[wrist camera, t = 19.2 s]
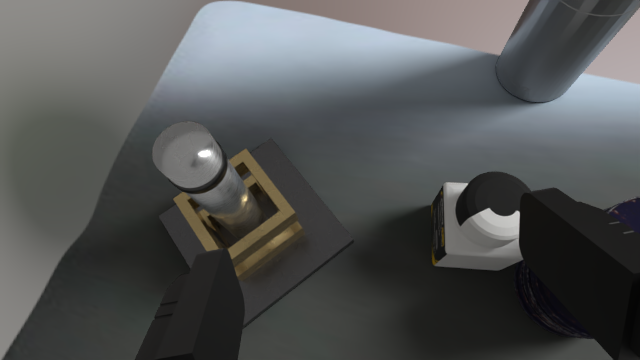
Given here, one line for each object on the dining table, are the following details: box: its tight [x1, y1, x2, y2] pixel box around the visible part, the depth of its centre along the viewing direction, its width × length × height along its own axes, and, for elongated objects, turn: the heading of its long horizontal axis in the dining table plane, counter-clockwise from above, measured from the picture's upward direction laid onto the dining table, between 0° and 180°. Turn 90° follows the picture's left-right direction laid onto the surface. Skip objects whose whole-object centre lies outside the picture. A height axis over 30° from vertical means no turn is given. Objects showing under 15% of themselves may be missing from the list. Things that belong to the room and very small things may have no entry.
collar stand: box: [158, 139, 354, 328], centre depth 41 cm, size 16×16×10 cm
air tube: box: [152, 121, 269, 240], centre depth 35 cm, size 4×4×20 cm
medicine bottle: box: [431, 172, 531, 271], centre depth 38 cm, size 7×7×12 cm
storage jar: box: [514, 196, 640, 339], centre depth 34 cm, size 10×10×15 cm
